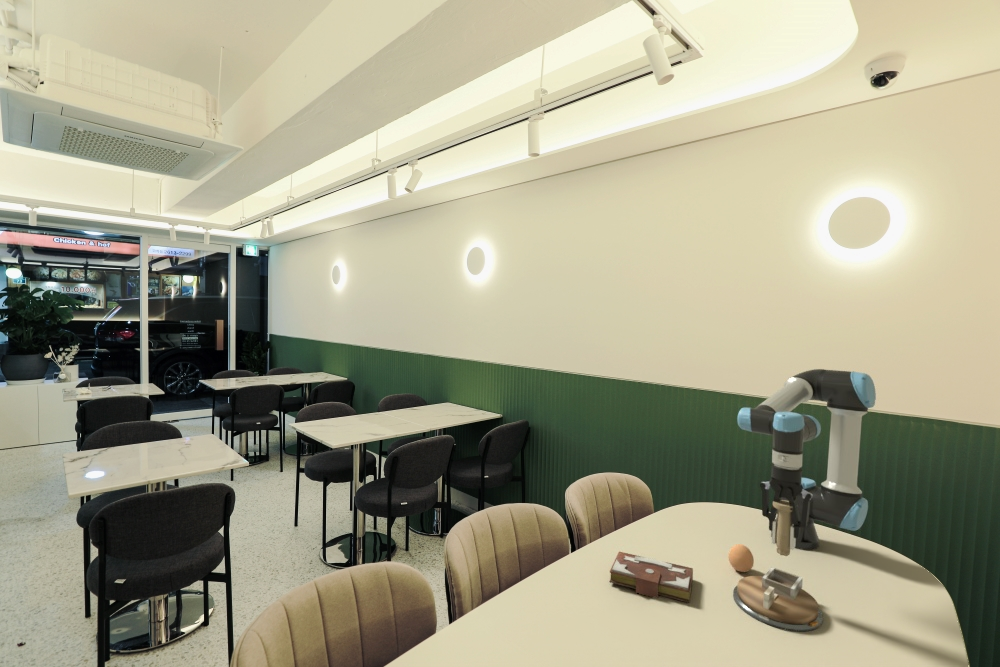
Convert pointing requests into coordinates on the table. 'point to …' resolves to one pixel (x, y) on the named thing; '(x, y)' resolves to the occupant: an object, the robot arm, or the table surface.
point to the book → (652, 576)
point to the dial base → (777, 624)
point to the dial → (778, 597)
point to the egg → (741, 558)
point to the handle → (783, 527)
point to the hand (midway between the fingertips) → (783, 544)
